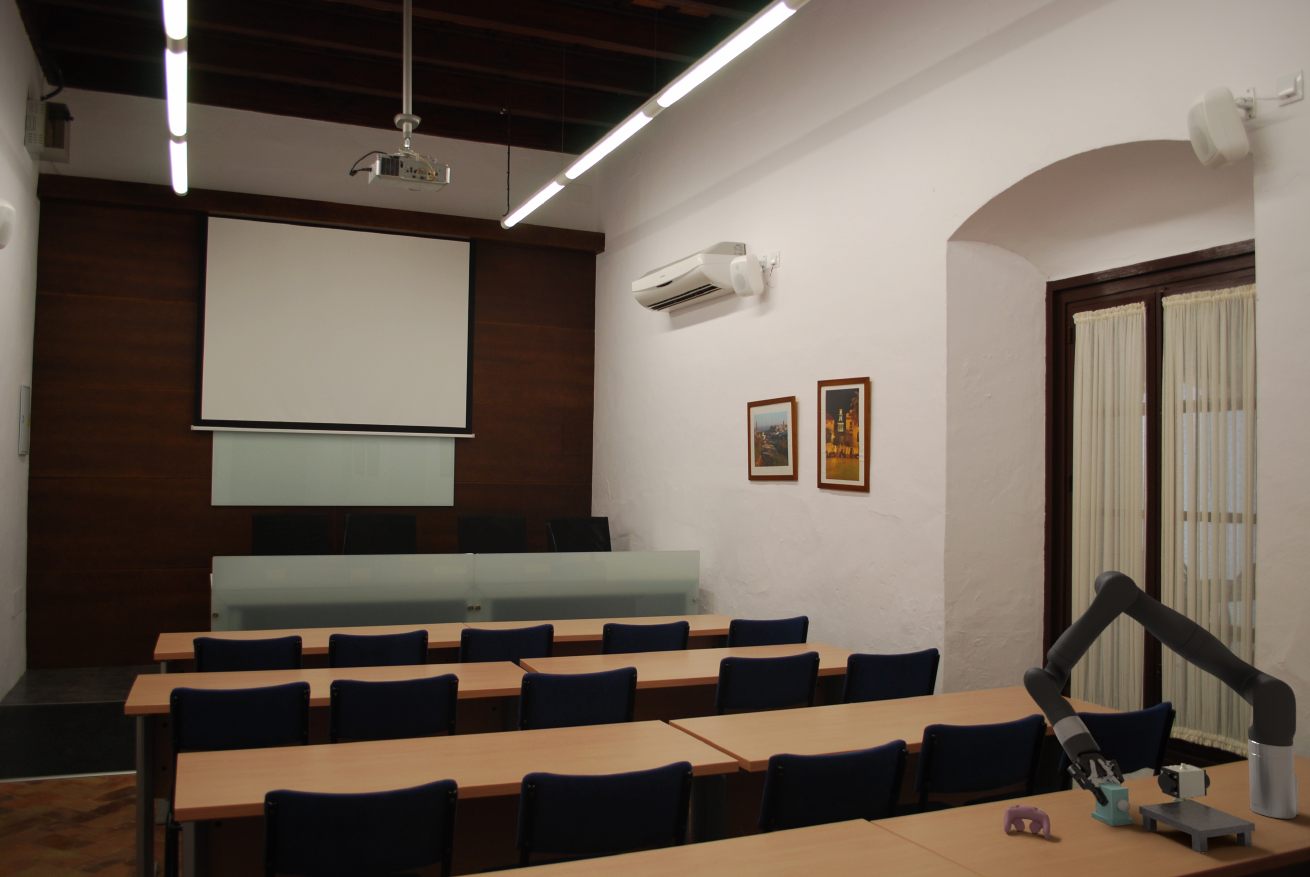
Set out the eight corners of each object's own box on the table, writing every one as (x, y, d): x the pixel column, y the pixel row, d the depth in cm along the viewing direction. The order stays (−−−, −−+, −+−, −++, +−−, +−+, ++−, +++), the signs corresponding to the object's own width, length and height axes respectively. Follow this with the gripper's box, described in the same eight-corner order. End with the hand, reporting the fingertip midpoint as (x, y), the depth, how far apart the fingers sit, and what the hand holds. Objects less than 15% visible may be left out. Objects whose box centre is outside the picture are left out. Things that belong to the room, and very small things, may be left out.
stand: (1191, 821, 211) (1191, 799, 211) (1255, 846, 196) (1254, 823, 196) (1139, 828, 206) (1139, 806, 207) (1200, 854, 191) (1200, 830, 191)
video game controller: (1050, 842, 201) (1050, 810, 204) (1050, 839, 197) (1049, 806, 201) (1004, 835, 205) (1004, 803, 208) (1003, 832, 201) (1003, 799, 205)
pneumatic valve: (1212, 814, 216) (1210, 764, 216) (1173, 819, 212) (1172, 768, 213) (1192, 807, 221) (1191, 758, 222) (1154, 811, 218) (1153, 761, 219)
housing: (1112, 814, 215) (1111, 780, 216) (1137, 824, 208) (1136, 790, 209) (1091, 816, 213) (1090, 782, 214) (1115, 827, 206) (1114, 792, 207)
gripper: (1060, 733, 218) (1099, 798, 206) (1106, 729, 223) (1147, 793, 211) (1045, 749, 223) (1082, 814, 211) (1090, 744, 227) (1129, 808, 215)
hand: (1114, 803), depth 211 cm, fingers closed on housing, 5 cm apart
